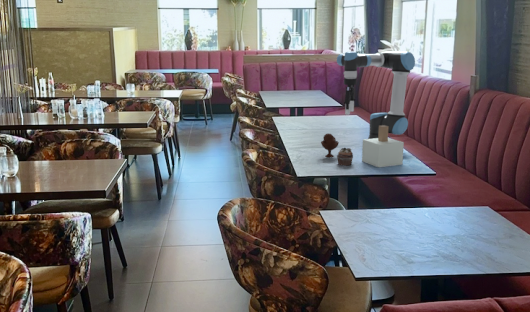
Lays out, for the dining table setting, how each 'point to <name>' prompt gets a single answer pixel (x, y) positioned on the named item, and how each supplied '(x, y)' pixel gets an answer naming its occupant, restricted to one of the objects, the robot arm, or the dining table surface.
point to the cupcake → (345, 157)
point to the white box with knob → (382, 150)
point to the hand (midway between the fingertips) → (349, 113)
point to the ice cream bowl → (329, 144)
